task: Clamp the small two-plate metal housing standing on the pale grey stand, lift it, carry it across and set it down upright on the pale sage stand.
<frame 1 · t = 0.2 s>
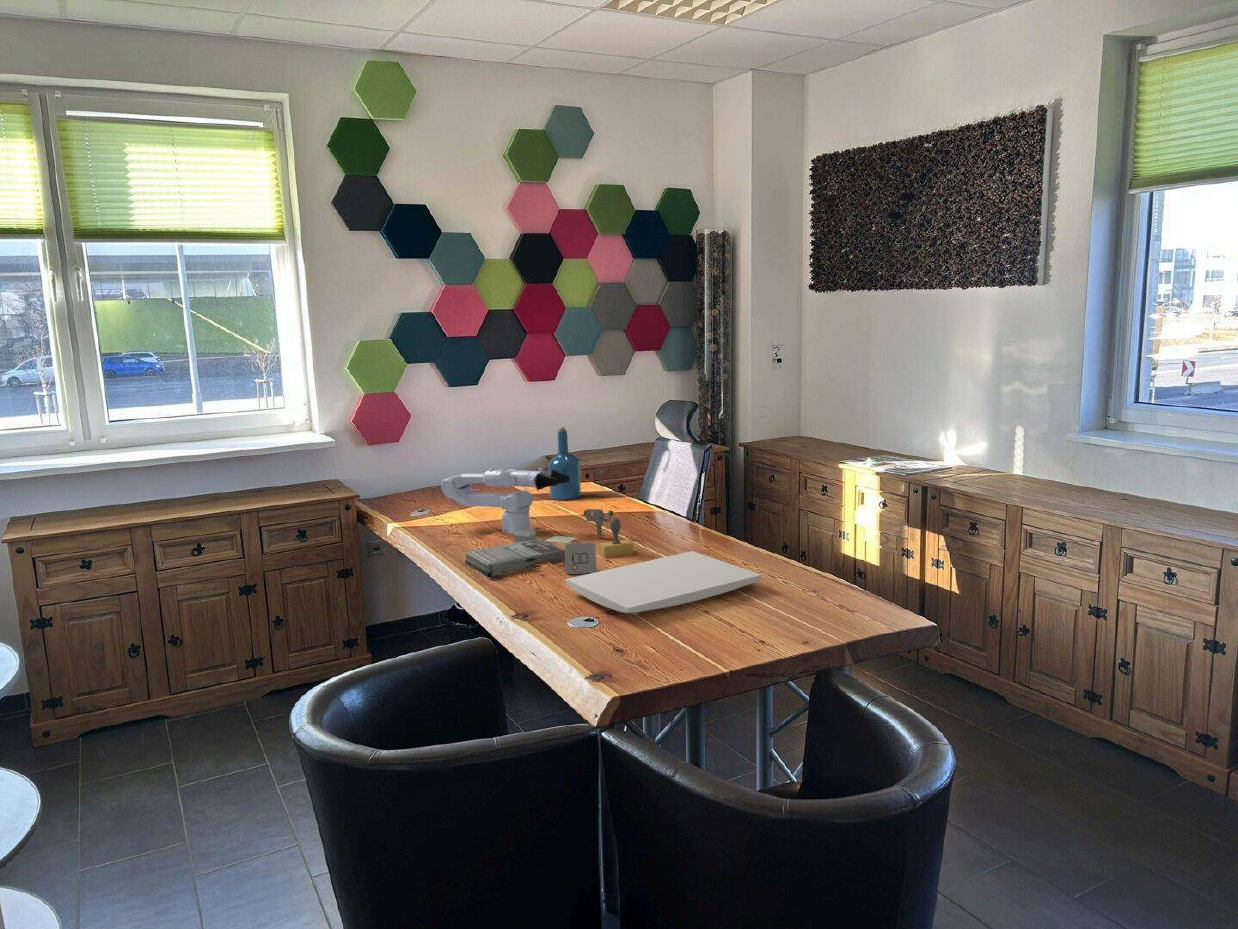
hand: (563, 480, 317), 21 cm above the table, tool horizontal, fingers open, 7 cm apart
board: (663, 593, 261), on the table
electrical switch: (580, 572, 283), on the table
rubber stamp: (616, 554, 302), on the table
hard drive: (515, 564, 295), on the table, touching stand a
stand a: (525, 548, 312), on the table
housing: (525, 544, 312), point 1 cm above the table, touching stand a
mechanical component: (599, 538, 322), on the table
stand b: (561, 543, 317), on the table
wine bottle: (565, 498, 391), on the table
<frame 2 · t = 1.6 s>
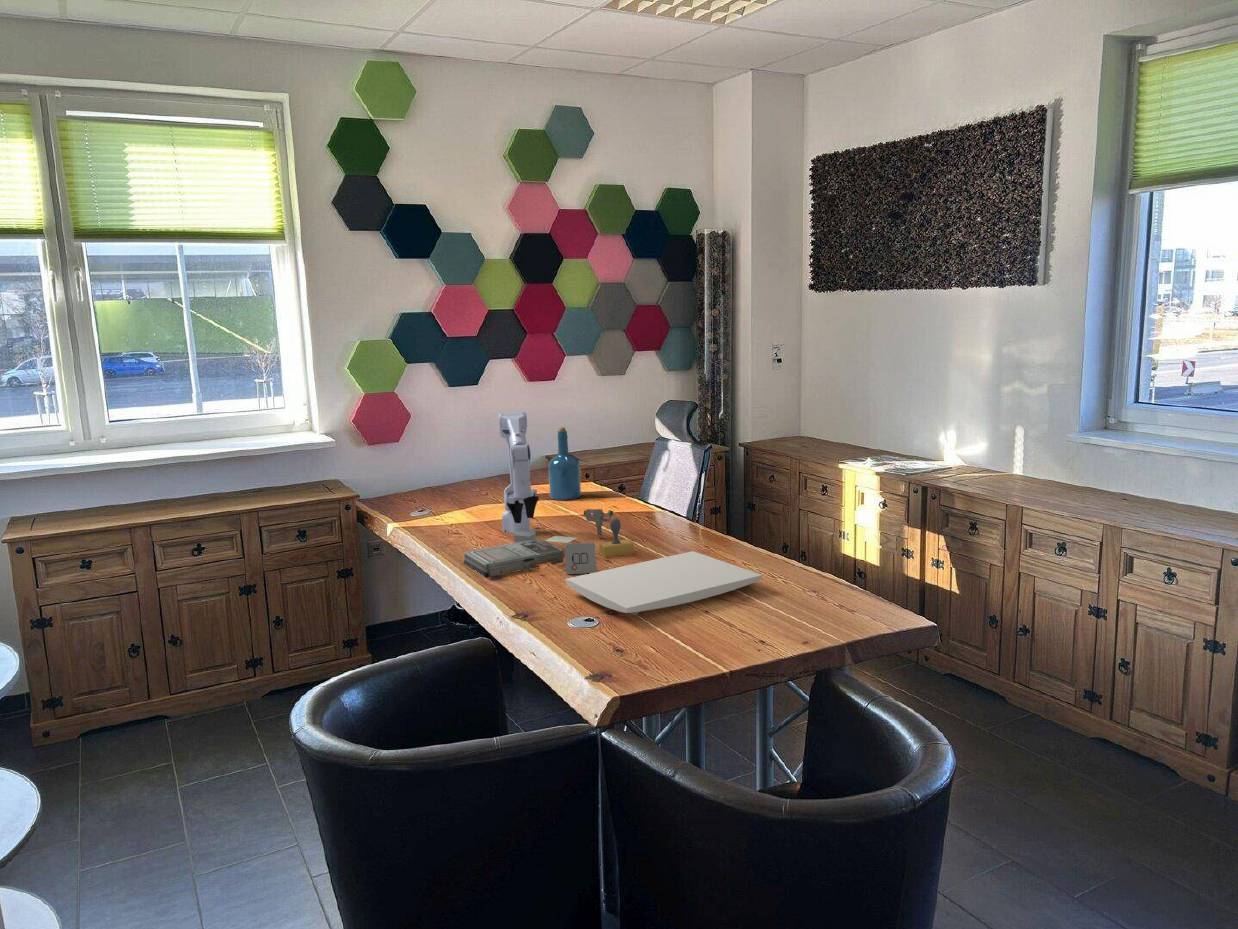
hand: (524, 520, 310), 10 cm above the table, tool pointing down, fingers open, 7 cm apart
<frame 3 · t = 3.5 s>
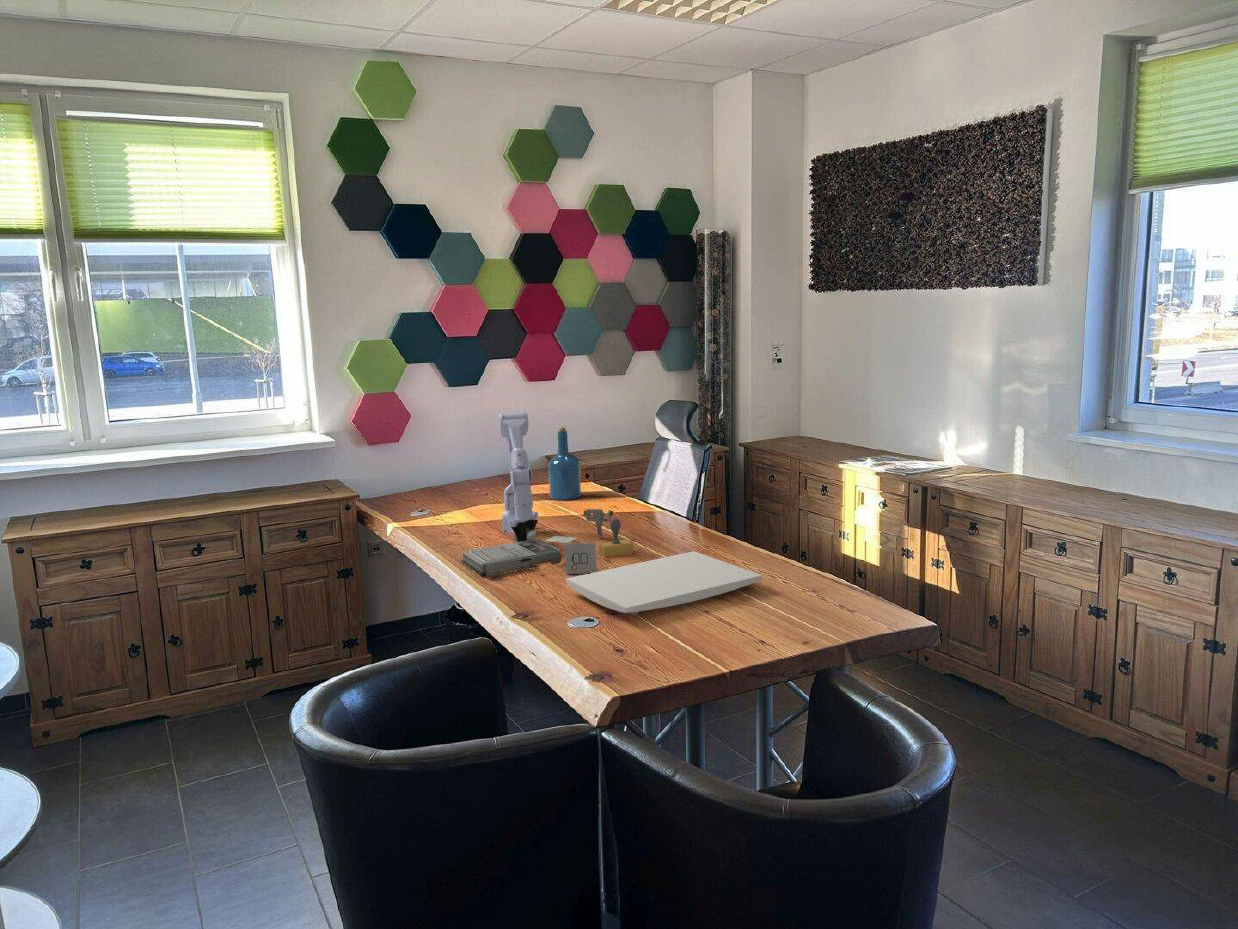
hand: (525, 542, 312), 2 cm above the table, tool pointing down, fingers closed on housing, 4 cm apart
housing: (525, 544, 312), point 1 cm above the table, touching gripper, stand a
when the fingers open (4 cm above the table, at t = 7.9 s): housing drops 1 cm, resting on stand b.
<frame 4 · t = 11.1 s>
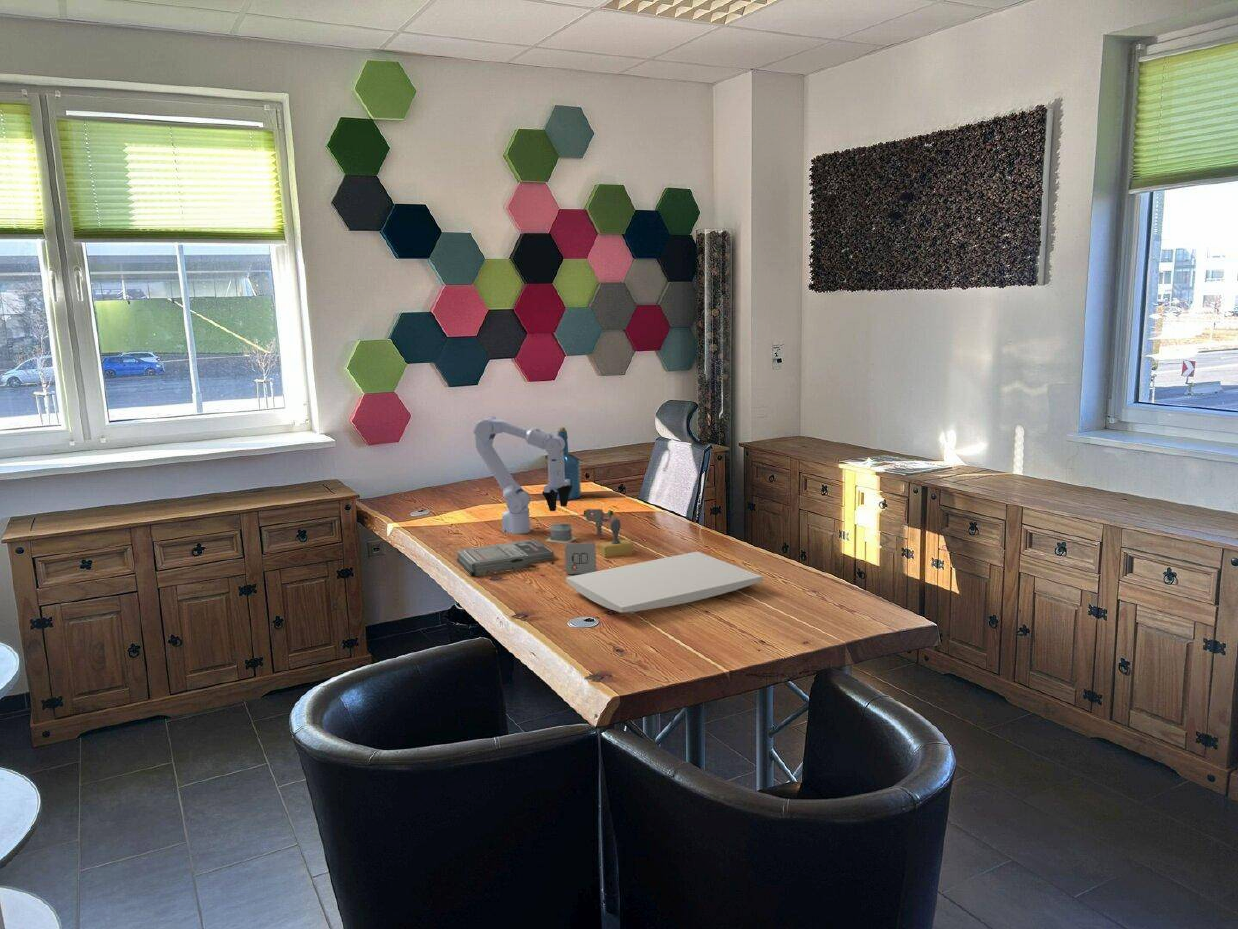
hand: (558, 508, 326), 10 cm above the table, tool pointing down, fingers open, 7 cm apart
hard drive: (505, 565, 296), on the table, touching stand a
housing: (561, 539, 317), point 1 cm above the table, touching stand b
at the end: housing inside the target area on the stand b (0.1 cm from its centre), point 1.5 cm above the stand b's base; housing tilted 0°; the gripper is holding nothing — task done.
